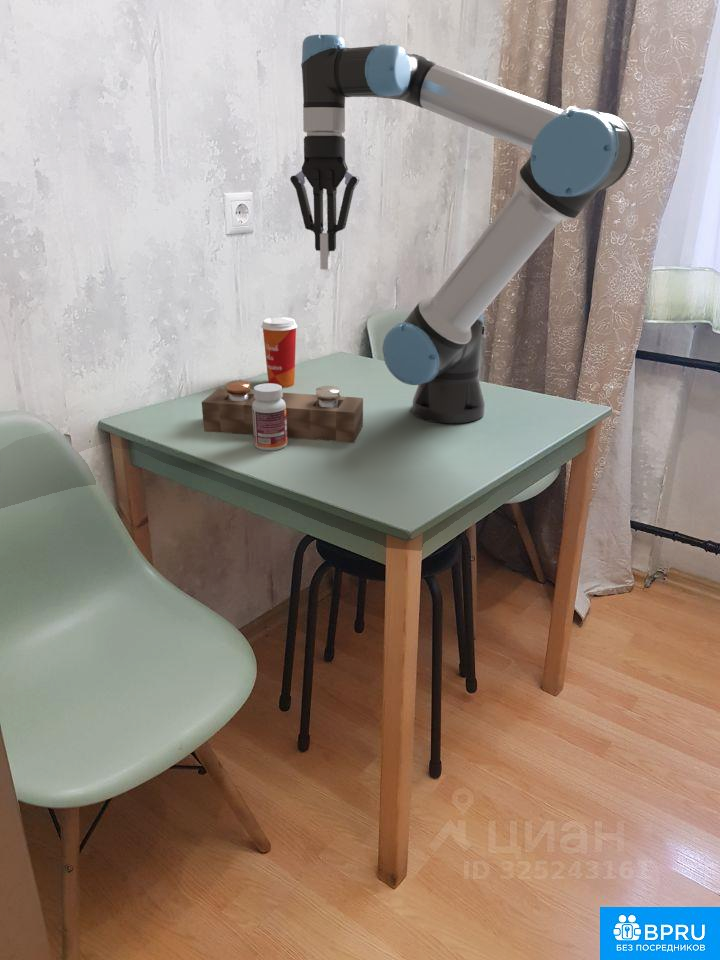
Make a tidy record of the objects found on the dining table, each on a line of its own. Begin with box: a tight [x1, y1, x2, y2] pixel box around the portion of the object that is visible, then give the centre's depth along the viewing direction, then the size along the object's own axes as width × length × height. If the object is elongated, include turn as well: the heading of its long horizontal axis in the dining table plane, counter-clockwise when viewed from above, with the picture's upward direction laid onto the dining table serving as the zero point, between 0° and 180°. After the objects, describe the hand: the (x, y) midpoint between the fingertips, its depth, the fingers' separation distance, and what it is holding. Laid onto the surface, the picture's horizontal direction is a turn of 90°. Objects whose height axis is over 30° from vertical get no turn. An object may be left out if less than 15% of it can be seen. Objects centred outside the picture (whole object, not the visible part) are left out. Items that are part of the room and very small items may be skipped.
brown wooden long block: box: [201, 387, 364, 444], centre depth 145 cm, size 30×9×6 cm, turn 79°
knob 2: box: [315, 385, 341, 408], centre depth 142 cm, size 5×5×7 cm
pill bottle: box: [252, 382, 288, 451], centre depth 135 cm, size 6×6×11 cm
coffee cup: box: [260, 316, 298, 389], centre depth 170 cm, size 8×8×15 cm
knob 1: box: [225, 379, 252, 402], centre depth 145 cm, size 5×5×7 cm
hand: (325, 268), depth 143 cm, fingers closed
